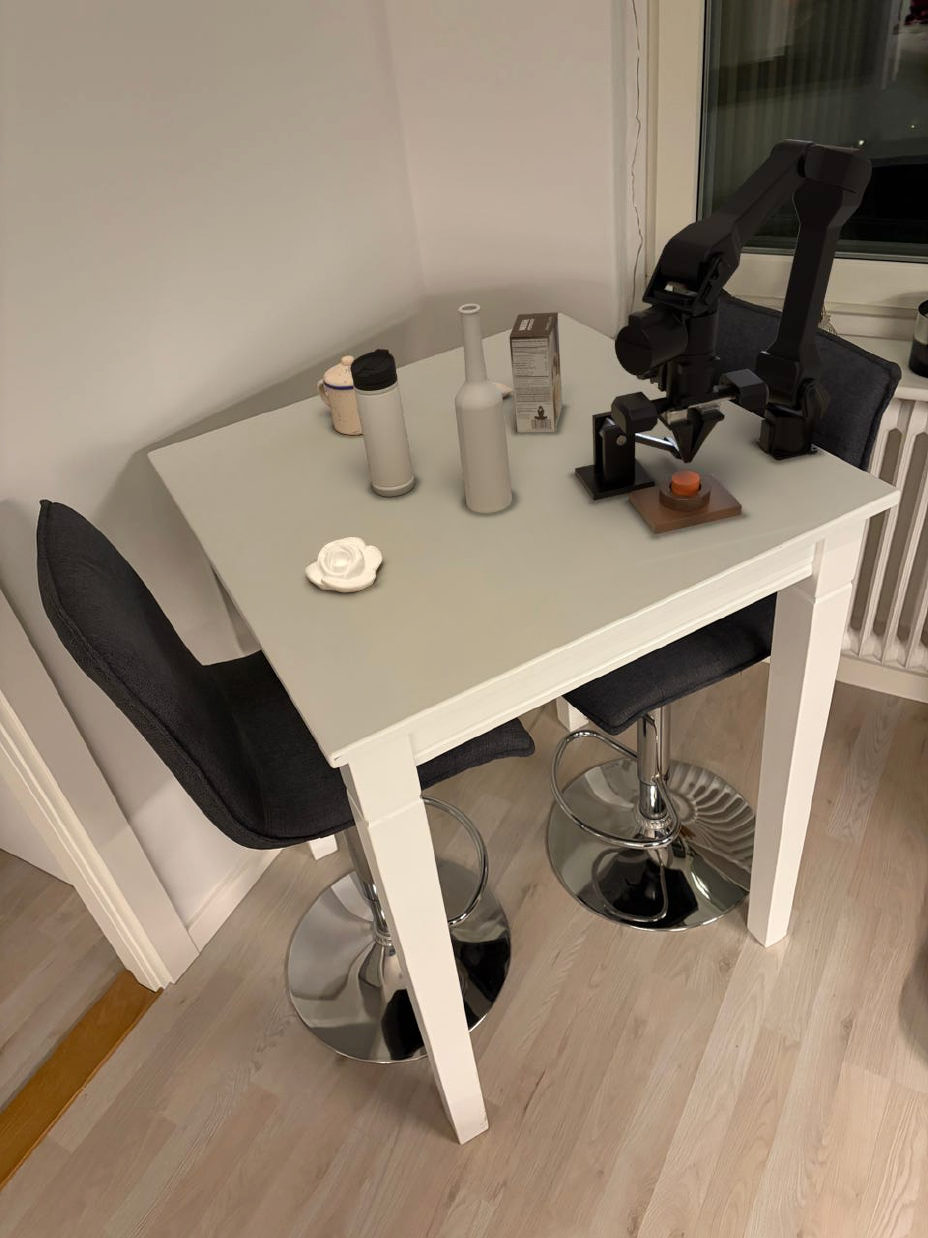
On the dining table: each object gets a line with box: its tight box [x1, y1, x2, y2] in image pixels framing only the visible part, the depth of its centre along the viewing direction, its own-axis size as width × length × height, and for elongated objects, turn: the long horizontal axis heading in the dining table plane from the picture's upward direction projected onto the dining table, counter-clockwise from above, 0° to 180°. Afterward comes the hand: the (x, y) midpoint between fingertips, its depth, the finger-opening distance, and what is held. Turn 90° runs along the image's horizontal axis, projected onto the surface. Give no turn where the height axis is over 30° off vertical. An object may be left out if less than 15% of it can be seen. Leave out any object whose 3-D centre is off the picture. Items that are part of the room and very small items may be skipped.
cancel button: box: [671, 470, 700, 495], centre depth 123 cm, size 4×4×2 cm
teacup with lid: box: [316, 355, 363, 436], centre depth 153 cm, size 12×9×12 cm
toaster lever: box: [599, 418, 682, 461], centre depth 129 cm, size 12×5×2 cm, turn 105°
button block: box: [629, 473, 743, 535], centre depth 124 cm, size 12×9×4 cm
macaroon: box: [492, 381, 514, 399], centre depth 157 cm, size 4×5×2 cm
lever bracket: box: [574, 410, 656, 501], centre depth 129 cm, size 9×8×10 cm
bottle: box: [454, 303, 513, 514], centre depth 123 cm, size 7×7×28 cm
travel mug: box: [350, 348, 416, 498], centre depth 132 cm, size 6×7×20 cm
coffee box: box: [508, 311, 563, 433], centre depth 145 cm, size 9×6×16 cm
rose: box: [304, 536, 383, 593], centre depth 120 cm, size 10×4×10 cm
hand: (686, 461), depth 121 cm, fingers closed
